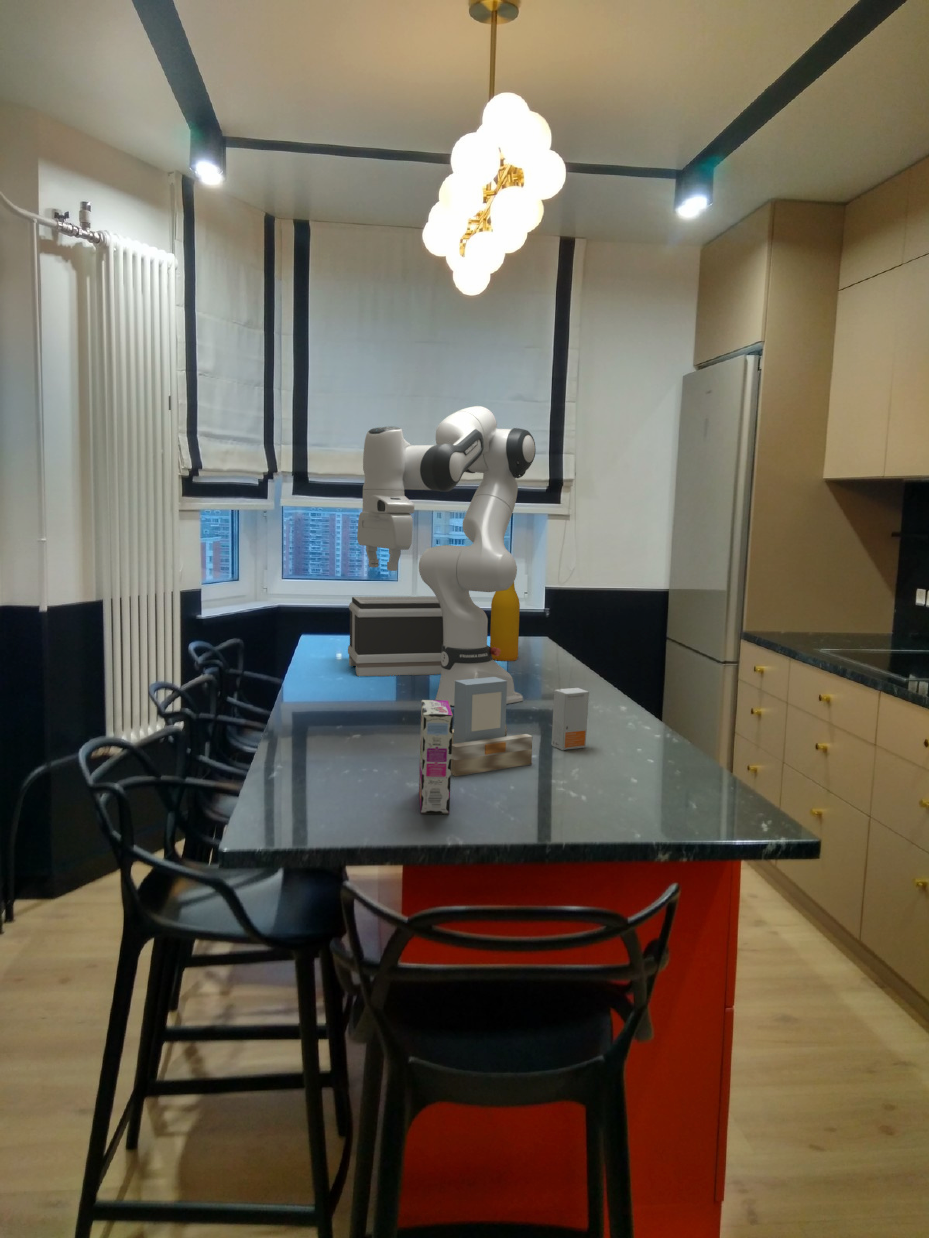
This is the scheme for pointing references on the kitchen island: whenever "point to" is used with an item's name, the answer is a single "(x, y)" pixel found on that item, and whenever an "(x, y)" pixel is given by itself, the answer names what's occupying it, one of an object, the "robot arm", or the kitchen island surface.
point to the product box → (479, 709)
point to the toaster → (395, 636)
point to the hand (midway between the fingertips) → (382, 568)
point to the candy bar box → (435, 756)
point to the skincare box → (570, 718)
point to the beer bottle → (505, 624)
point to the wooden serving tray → (491, 754)
